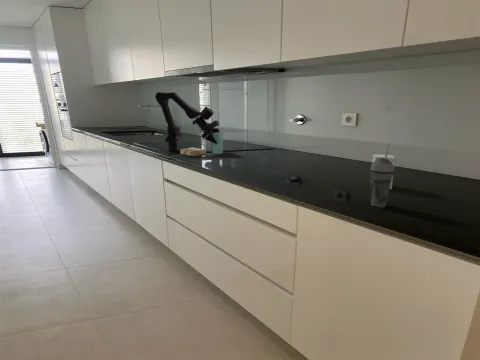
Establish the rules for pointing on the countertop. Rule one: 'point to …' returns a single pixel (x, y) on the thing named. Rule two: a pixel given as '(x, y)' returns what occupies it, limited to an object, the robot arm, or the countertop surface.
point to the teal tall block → (218, 143)
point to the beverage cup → (381, 180)
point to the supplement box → (389, 157)
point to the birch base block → (193, 151)
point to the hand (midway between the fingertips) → (219, 142)
